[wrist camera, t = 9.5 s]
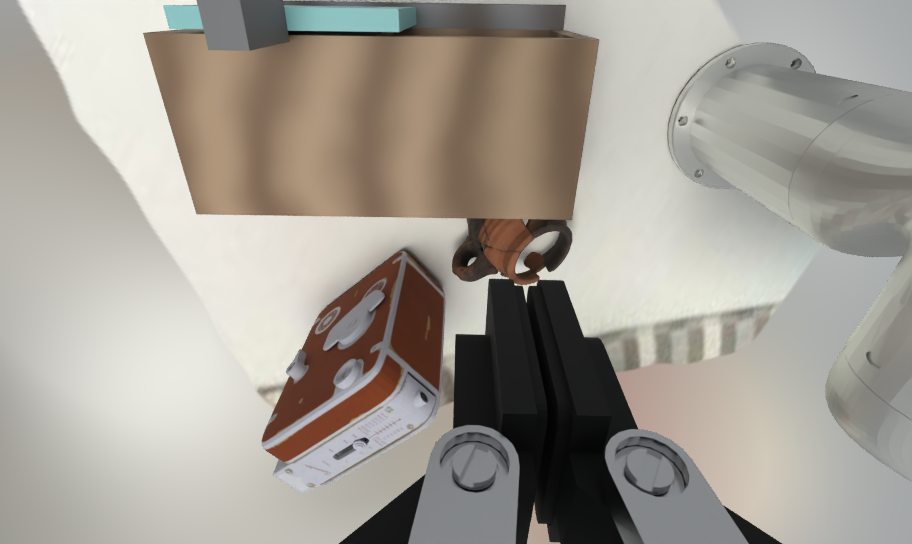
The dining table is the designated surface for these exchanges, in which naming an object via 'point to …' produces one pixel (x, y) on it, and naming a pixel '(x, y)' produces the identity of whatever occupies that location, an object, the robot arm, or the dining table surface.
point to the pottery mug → (509, 248)
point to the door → (279, 21)
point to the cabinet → (386, 116)
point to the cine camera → (361, 377)
